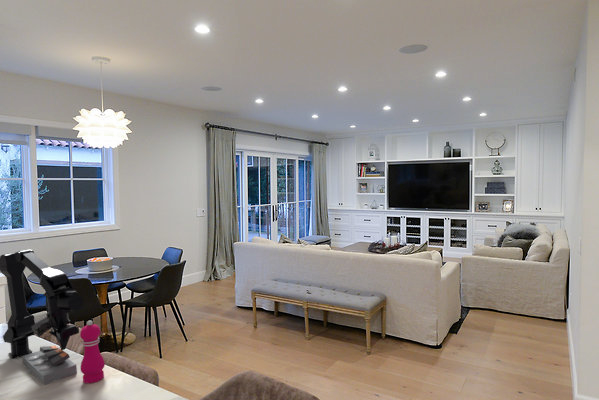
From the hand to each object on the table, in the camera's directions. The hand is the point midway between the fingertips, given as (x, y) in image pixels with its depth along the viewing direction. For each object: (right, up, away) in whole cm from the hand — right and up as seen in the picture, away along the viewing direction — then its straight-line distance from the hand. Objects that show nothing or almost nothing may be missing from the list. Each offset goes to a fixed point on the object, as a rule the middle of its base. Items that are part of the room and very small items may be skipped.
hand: (63, 349), depth 147 cm
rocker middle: (-2, -1, -2) cm, 3 cm away
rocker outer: (+3, -1, -6) cm, 7 cm away
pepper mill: (+17, -6, -12) cm, 22 cm away
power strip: (-3, -5, -3) cm, 7 cm away
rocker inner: (-6, -1, +2) cm, 7 cm away
